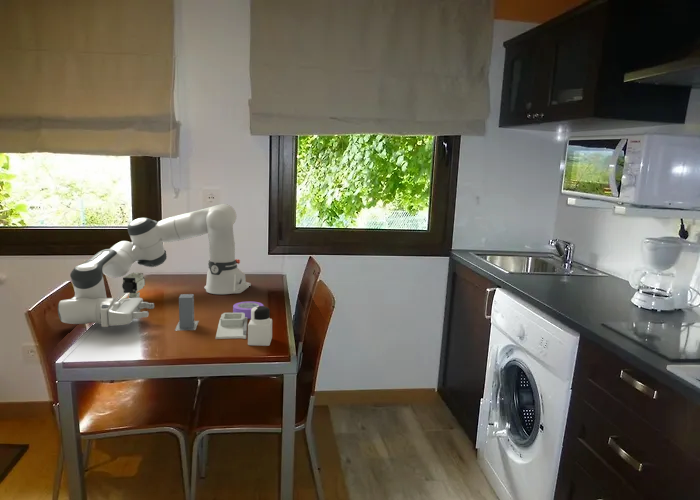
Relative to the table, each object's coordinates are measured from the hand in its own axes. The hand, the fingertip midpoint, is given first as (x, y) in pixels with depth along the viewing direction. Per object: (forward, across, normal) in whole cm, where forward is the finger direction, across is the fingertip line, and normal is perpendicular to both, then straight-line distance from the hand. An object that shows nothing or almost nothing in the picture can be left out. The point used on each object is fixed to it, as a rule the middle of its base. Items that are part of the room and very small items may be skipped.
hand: (151, 309), depth 175 cm
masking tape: (+33, -13, -7) cm, 36 cm away
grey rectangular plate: (+12, 0, -6) cm, 14 cm away
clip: (+12, 0, -6) cm, 13 cm away
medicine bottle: (+38, +17, -7) cm, 42 cm away
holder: (+28, +4, -6) cm, 29 cm away
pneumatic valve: (-13, -33, -7) cm, 36 cm away
